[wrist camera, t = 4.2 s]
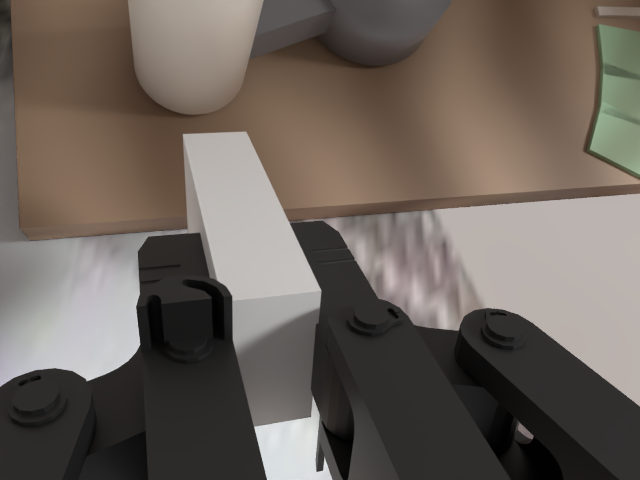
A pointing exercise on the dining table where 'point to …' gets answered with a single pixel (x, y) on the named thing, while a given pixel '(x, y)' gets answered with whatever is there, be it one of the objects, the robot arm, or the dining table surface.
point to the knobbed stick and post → (261, 40)
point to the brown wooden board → (334, 117)
